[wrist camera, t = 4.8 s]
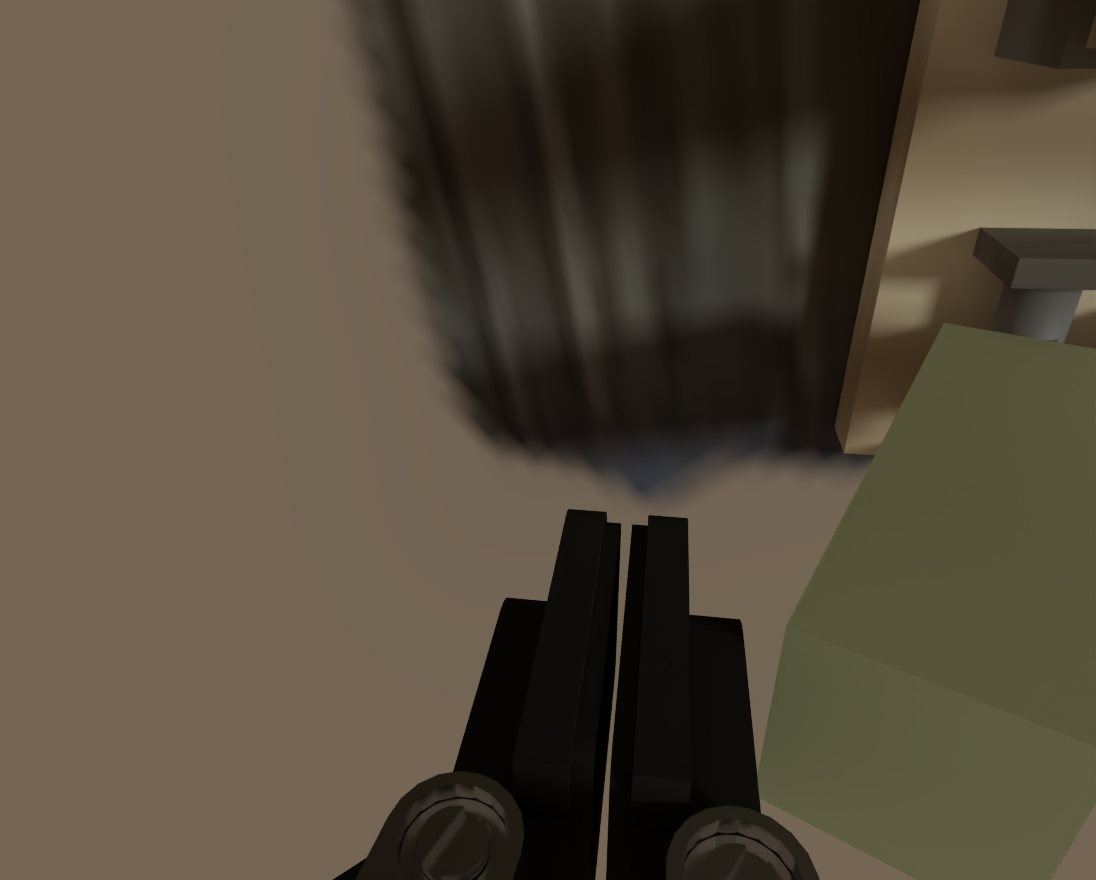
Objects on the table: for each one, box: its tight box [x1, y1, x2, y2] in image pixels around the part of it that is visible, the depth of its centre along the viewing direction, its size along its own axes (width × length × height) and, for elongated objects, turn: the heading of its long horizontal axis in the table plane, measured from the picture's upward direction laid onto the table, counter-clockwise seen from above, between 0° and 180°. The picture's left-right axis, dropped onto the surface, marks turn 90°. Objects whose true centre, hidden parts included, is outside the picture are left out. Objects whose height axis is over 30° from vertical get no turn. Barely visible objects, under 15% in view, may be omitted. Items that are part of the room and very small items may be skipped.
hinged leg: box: [757, 284, 1096, 880], centre depth 12 cm, size 4×3×13 cm
